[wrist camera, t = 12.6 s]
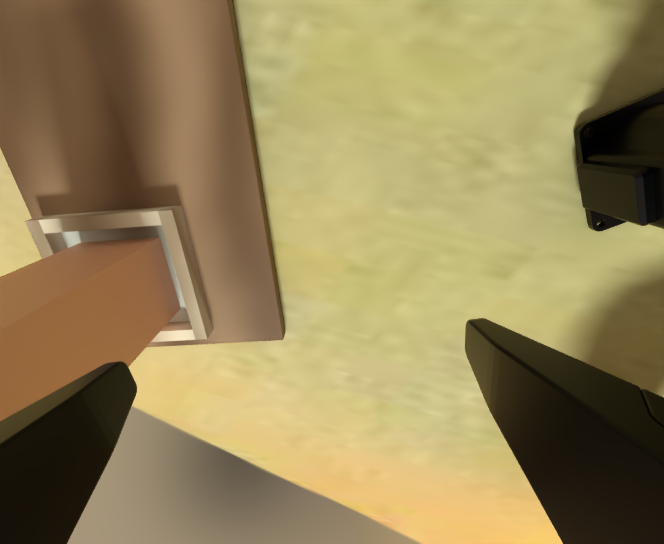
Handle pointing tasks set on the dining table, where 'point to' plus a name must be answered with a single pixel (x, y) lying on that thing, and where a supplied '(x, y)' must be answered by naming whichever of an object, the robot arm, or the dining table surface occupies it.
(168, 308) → the pillar
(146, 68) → the baseboard
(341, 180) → the dining table surface
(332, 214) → the dining table surface
